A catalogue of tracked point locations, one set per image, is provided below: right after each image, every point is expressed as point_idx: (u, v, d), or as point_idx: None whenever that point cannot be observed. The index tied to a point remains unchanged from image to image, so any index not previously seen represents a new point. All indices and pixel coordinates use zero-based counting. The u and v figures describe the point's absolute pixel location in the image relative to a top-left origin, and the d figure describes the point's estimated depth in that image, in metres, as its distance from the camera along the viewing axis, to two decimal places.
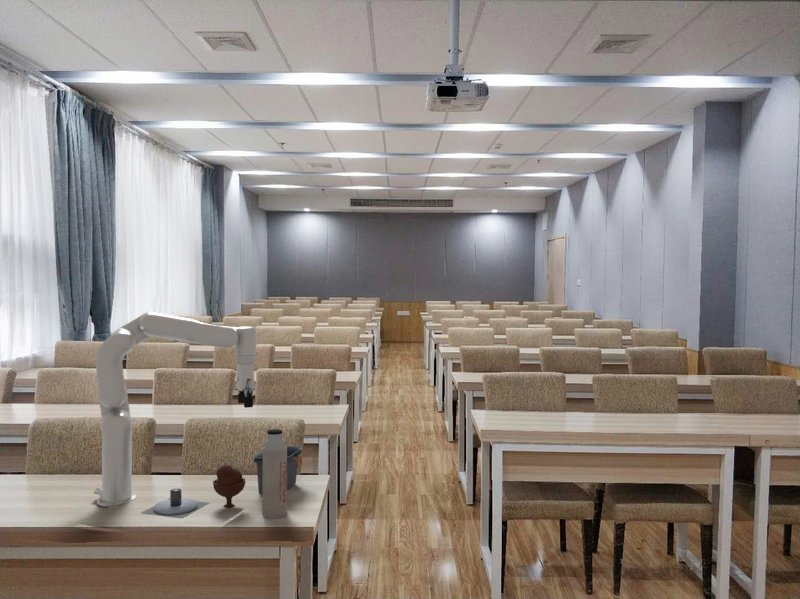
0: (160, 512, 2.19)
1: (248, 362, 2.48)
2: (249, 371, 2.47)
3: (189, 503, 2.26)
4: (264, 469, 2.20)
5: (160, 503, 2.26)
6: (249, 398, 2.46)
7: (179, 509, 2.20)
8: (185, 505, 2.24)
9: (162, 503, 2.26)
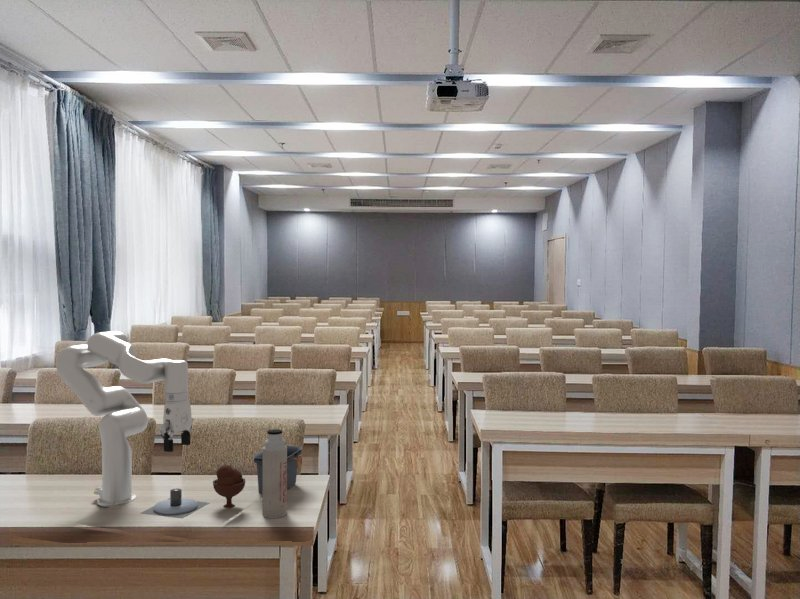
0: (160, 512, 2.19)
1: None
2: None
3: (189, 503, 2.26)
4: (264, 469, 2.20)
5: (160, 503, 2.26)
6: None
7: (179, 509, 2.20)
8: (185, 505, 2.25)
9: (162, 503, 2.26)
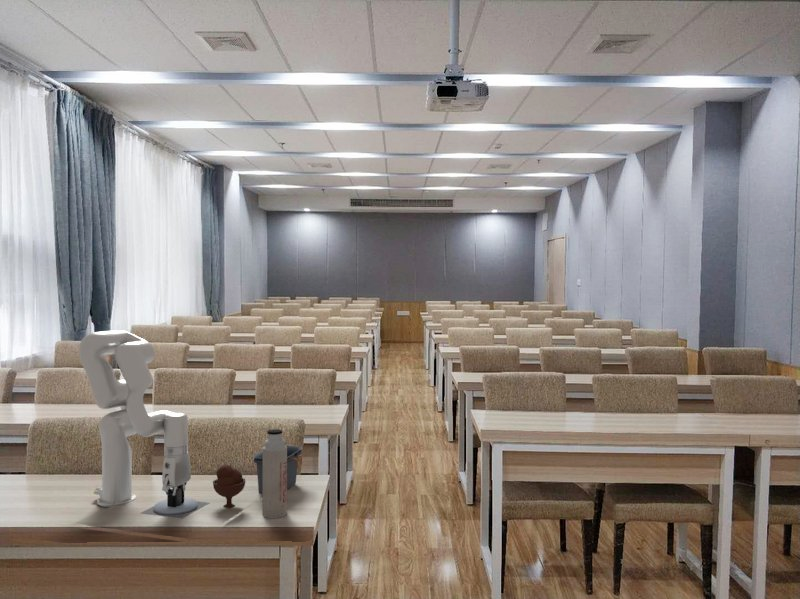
0: (160, 512, 2.19)
1: None
2: None
3: (189, 503, 2.26)
4: (264, 469, 2.20)
5: (160, 503, 2.26)
6: None
7: (179, 509, 2.20)
8: (185, 505, 2.25)
9: (162, 503, 2.26)
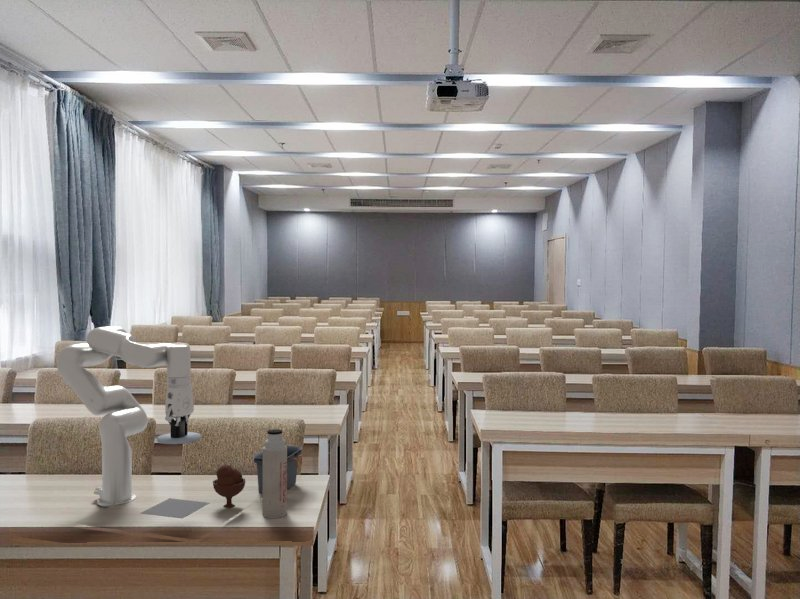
0: (163, 442, 2.18)
1: None
2: None
3: (192, 435, 2.26)
4: (264, 469, 2.20)
5: (163, 435, 2.26)
6: None
7: (182, 439, 2.20)
8: (188, 436, 2.24)
9: (166, 435, 2.26)
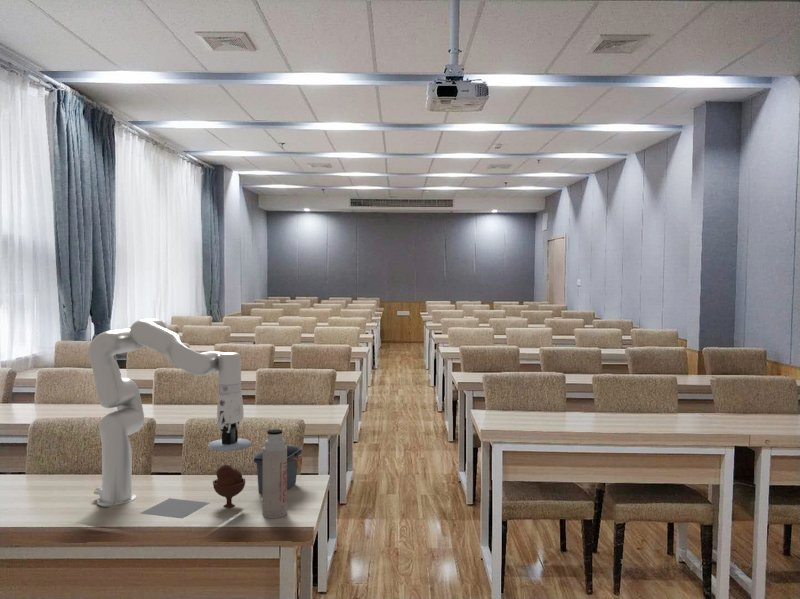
0: (216, 448, 2.21)
1: None
2: None
3: (243, 442, 2.28)
4: (264, 469, 2.20)
5: (214, 442, 2.28)
6: None
7: (234, 446, 2.22)
8: (239, 443, 2.26)
9: (216, 442, 2.28)
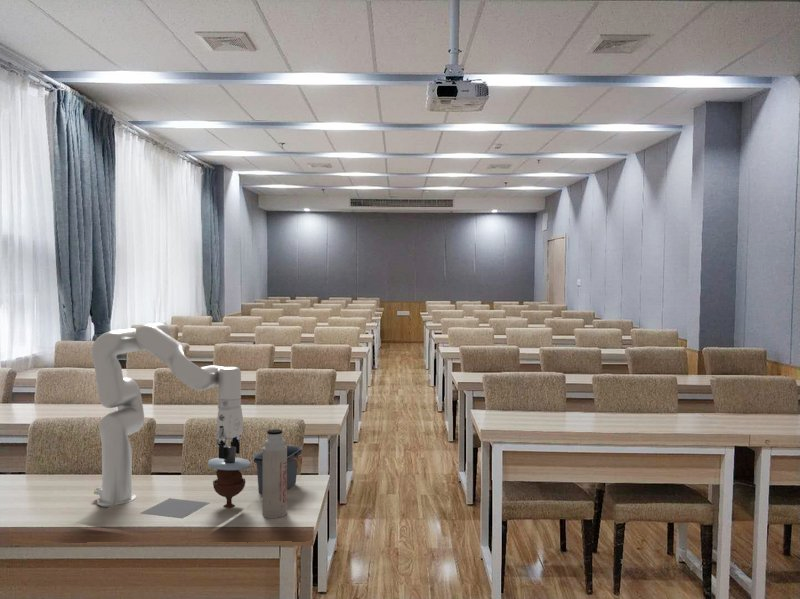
0: (215, 467, 2.21)
1: None
2: None
3: (242, 462, 2.28)
4: (264, 469, 2.20)
5: (213, 459, 2.28)
6: None
7: (234, 465, 2.23)
8: (239, 463, 2.27)
9: (216, 460, 2.28)
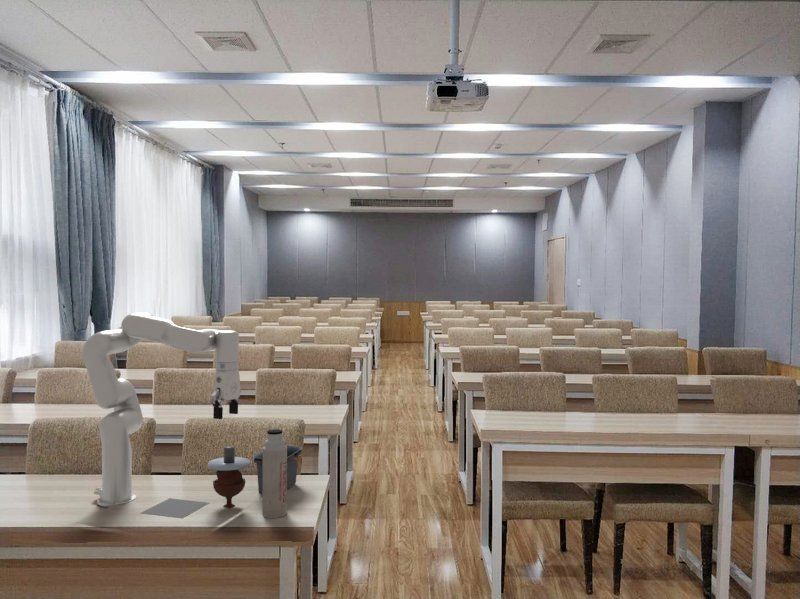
0: (215, 468, 2.21)
1: None
2: None
3: (242, 461, 2.28)
4: (264, 469, 2.20)
5: (213, 461, 2.28)
6: None
7: (234, 465, 2.23)
8: (238, 462, 2.27)
9: (215, 461, 2.28)
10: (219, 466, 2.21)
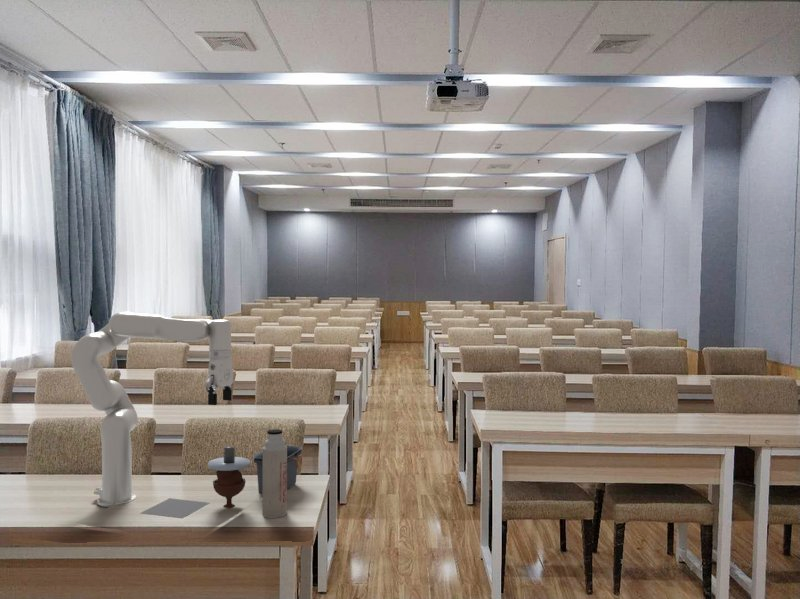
0: (215, 468, 2.21)
1: None
2: None
3: (242, 461, 2.28)
4: (264, 469, 2.20)
5: (213, 460, 2.28)
6: None
7: (234, 465, 2.23)
8: (238, 462, 2.27)
9: (216, 461, 2.28)
10: (219, 466, 2.21)
